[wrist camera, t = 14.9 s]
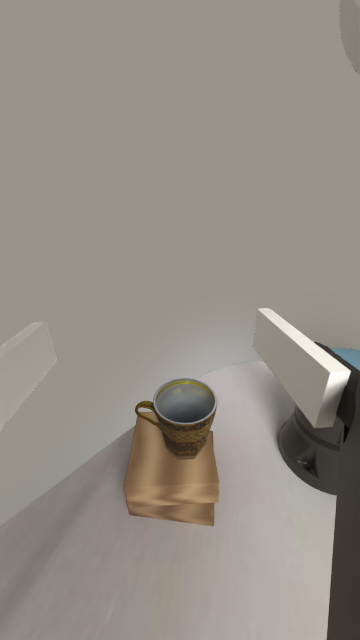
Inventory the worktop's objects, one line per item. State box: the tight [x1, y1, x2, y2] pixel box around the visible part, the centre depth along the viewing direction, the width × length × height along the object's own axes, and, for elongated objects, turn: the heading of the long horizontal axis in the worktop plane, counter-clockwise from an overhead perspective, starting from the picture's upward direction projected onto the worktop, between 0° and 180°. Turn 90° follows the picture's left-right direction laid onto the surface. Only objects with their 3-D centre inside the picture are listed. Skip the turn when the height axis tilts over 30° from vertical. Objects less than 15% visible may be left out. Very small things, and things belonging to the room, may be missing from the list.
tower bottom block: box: [126, 431, 214, 526], centre depth 41 cm, size 14×14×5 cm
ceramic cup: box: [135, 378, 217, 460], centre depth 36 cm, size 13×10×10 cm
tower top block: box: [124, 412, 219, 507], centre depth 39 cm, size 14×14×5 cm
